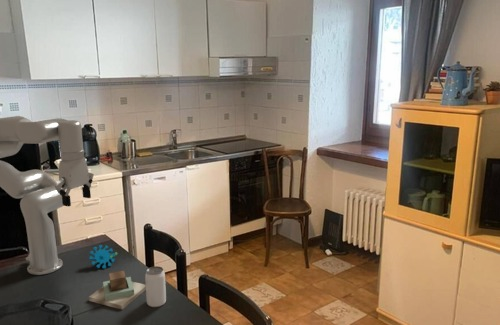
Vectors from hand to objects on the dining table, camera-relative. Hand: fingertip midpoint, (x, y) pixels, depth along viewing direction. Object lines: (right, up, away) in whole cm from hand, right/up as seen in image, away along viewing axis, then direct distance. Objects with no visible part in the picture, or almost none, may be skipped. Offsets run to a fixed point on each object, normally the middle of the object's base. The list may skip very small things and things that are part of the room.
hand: (77, 201), depth 150 cm
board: (+17, -32, -5) cm, 37 cm away
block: (+17, -31, -5) cm, 35 cm away
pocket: (+17, -31, -5) cm, 35 cm away
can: (+31, -34, -9) cm, 47 cm away
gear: (+4, -27, +17) cm, 32 cm away
